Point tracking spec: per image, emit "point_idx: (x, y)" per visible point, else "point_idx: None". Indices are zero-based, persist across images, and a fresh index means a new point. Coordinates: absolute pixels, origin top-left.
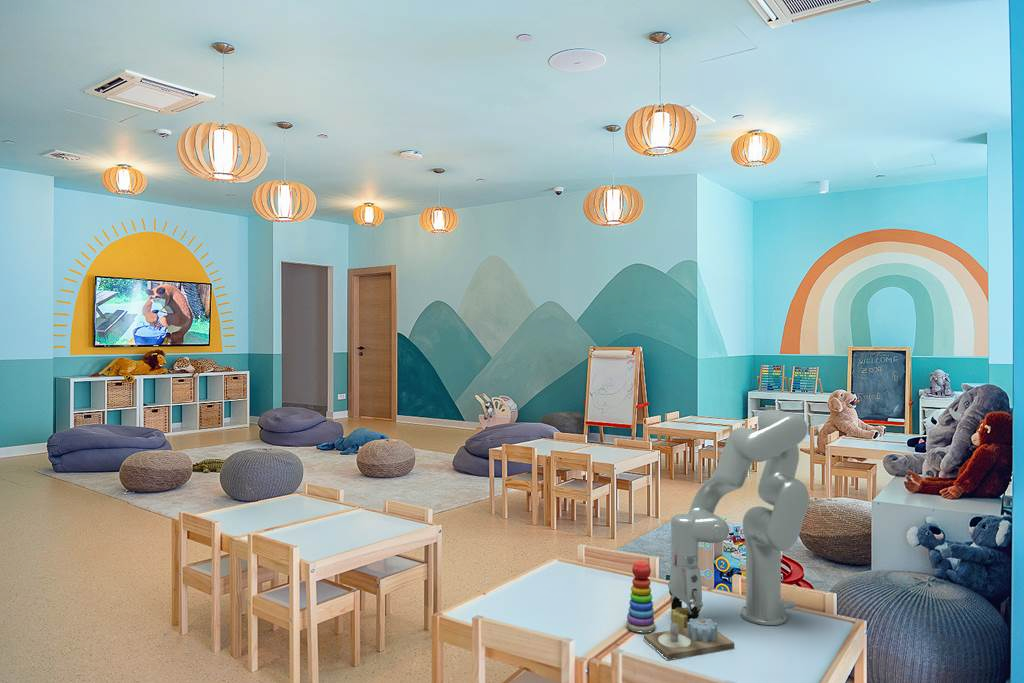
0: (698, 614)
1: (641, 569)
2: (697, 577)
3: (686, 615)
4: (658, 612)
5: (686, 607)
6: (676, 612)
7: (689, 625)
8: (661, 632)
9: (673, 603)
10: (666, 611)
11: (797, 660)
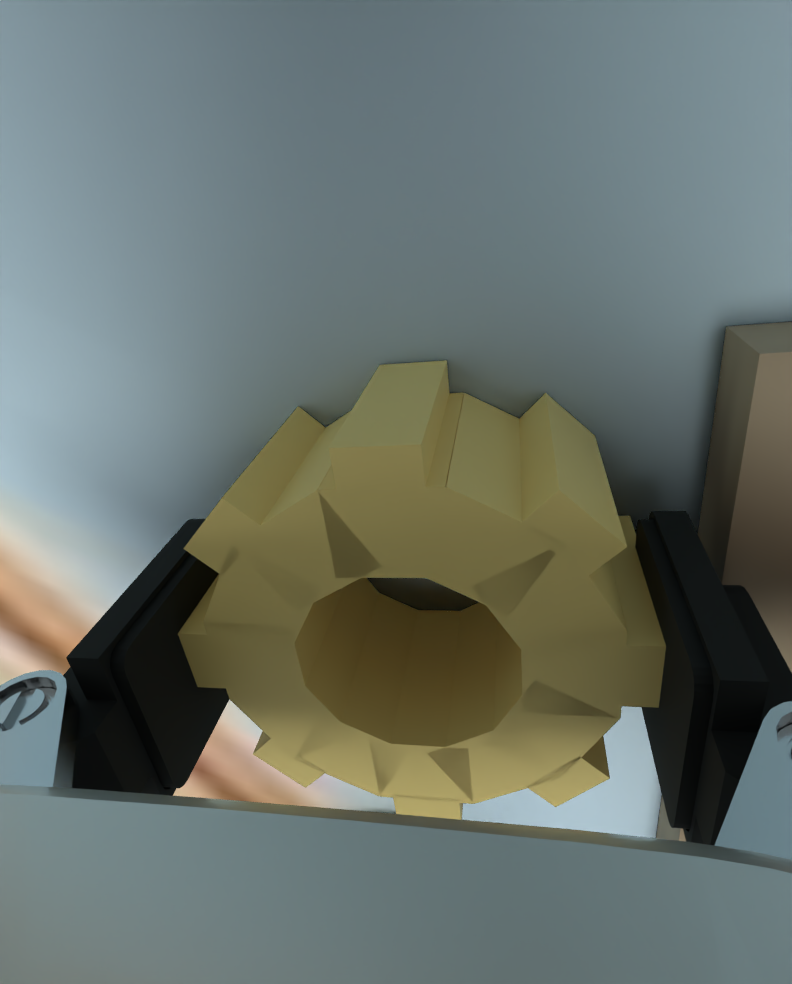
0: (585, 520)
1: None
2: None
3: (543, 714)
4: (64, 636)
5: (208, 554)
6: (385, 768)
7: None
8: None
9: (176, 786)
10: (30, 554)
11: None
